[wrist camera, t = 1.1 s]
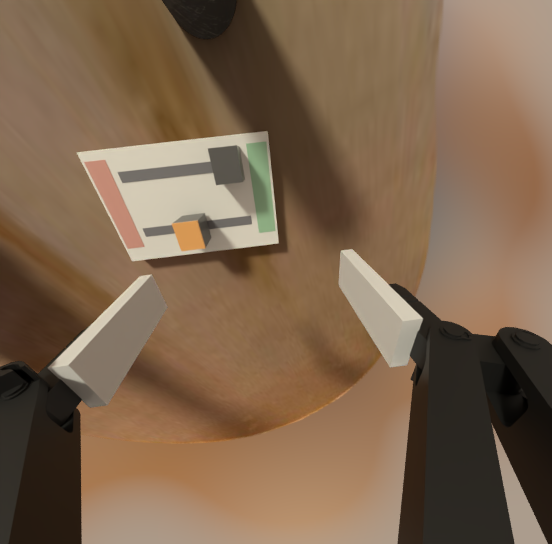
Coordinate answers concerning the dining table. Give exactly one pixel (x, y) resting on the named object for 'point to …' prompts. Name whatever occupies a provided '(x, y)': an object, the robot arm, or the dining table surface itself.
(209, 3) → the travel mug
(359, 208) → the dining table surface
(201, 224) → the breaker handle
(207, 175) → the board
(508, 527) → the robot arm
